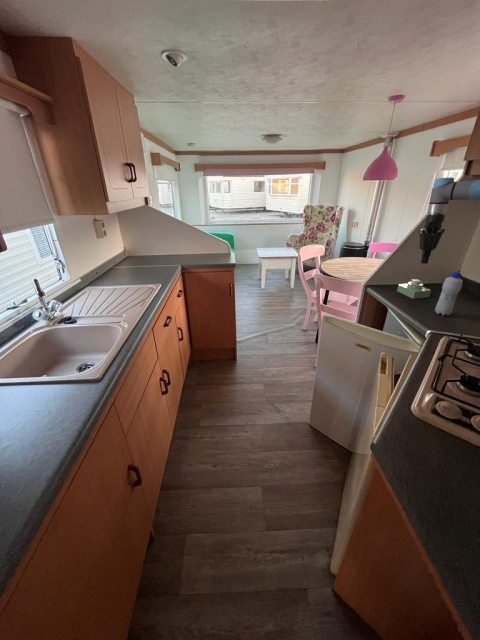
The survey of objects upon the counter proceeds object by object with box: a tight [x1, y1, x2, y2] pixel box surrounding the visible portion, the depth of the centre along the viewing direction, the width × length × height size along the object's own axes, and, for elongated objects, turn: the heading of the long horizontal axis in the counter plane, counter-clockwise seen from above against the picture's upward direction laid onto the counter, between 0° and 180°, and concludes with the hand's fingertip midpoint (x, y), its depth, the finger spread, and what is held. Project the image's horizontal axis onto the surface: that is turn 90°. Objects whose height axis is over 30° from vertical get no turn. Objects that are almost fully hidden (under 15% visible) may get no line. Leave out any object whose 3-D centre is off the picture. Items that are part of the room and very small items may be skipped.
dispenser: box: [396, 281, 432, 300], centre depth 145 cm, size 12×10×6 cm
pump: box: [410, 278, 422, 285], centre depth 143 cm, size 4×4×2 cm
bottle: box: [434, 271, 464, 317], centre depth 119 cm, size 7×7×20 cm
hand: (424, 263), depth 137 cm, fingers closed
